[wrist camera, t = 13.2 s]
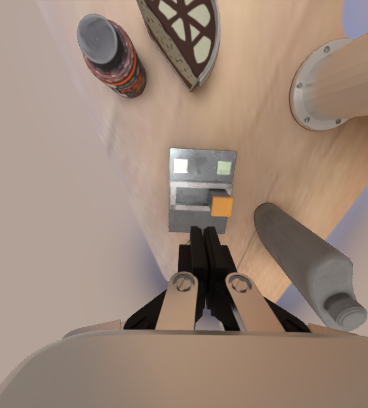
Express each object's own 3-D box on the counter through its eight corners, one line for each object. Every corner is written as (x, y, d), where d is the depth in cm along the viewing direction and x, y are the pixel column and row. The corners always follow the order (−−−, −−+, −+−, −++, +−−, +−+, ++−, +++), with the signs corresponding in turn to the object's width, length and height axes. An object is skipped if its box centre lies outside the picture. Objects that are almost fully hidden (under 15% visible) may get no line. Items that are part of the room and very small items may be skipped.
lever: (224, 188, 33) (233, 198, 27) (222, 204, 34) (230, 216, 28) (208, 187, 33) (213, 197, 27) (206, 203, 34) (211, 216, 28)
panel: (234, 151, 32) (239, 152, 29) (222, 230, 38) (225, 236, 35) (170, 147, 31) (169, 148, 29) (169, 228, 38) (168, 234, 35)
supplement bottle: (132, 107, 29) (105, 89, 18) (102, 79, 27) (54, 42, 17) (154, 75, 27) (138, 37, 17) (123, 44, 26) (84, -20, 15)
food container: (224, 71, 27) (247, 37, 18) (195, 100, 29) (202, 81, 19) (173, -10, 24) (169, -105, 15) (142, 27, 25) (120, -38, 16)
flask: (246, 211, 36) (315, 288, 18) (272, 198, 35) (374, 265, 17) (269, 260, 41) (343, 360, 23) (293, 249, 40) (389, 346, 22)
